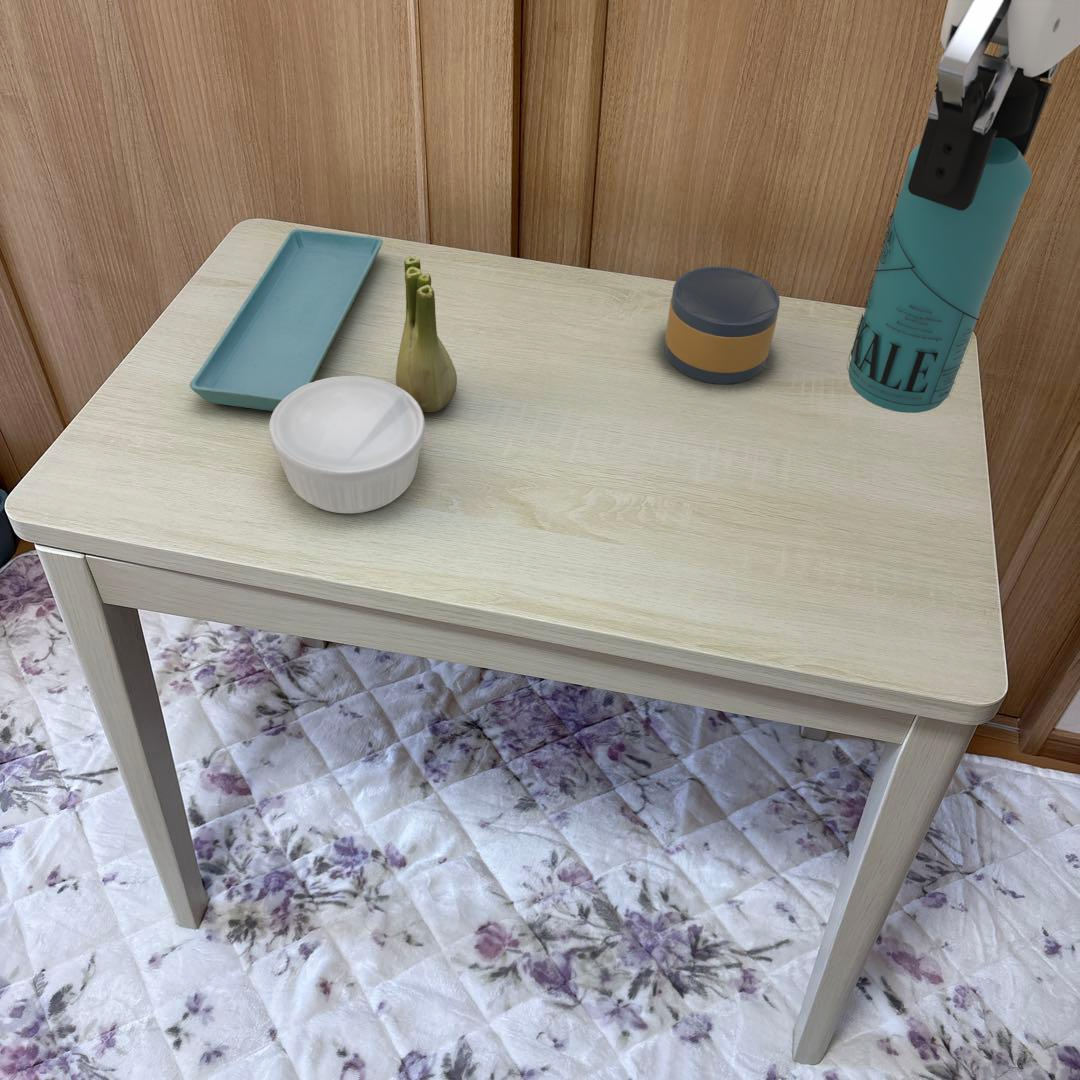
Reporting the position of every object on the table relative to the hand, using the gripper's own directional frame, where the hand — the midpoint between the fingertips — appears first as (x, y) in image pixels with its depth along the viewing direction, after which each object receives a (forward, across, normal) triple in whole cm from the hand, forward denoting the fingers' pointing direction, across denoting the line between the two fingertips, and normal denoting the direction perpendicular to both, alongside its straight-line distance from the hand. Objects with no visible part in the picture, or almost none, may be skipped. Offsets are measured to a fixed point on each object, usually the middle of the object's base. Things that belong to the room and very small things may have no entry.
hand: (967, 172), depth 55 cm
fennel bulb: (+29, -6, +35) cm, 46 cm away
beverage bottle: (+15, 0, 0) cm, 15 cm away
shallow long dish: (+29, -6, +50) cm, 58 cm away
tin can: (+29, +16, +20) cm, 39 cm away
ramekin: (+29, -16, +33) cm, 47 cm away
